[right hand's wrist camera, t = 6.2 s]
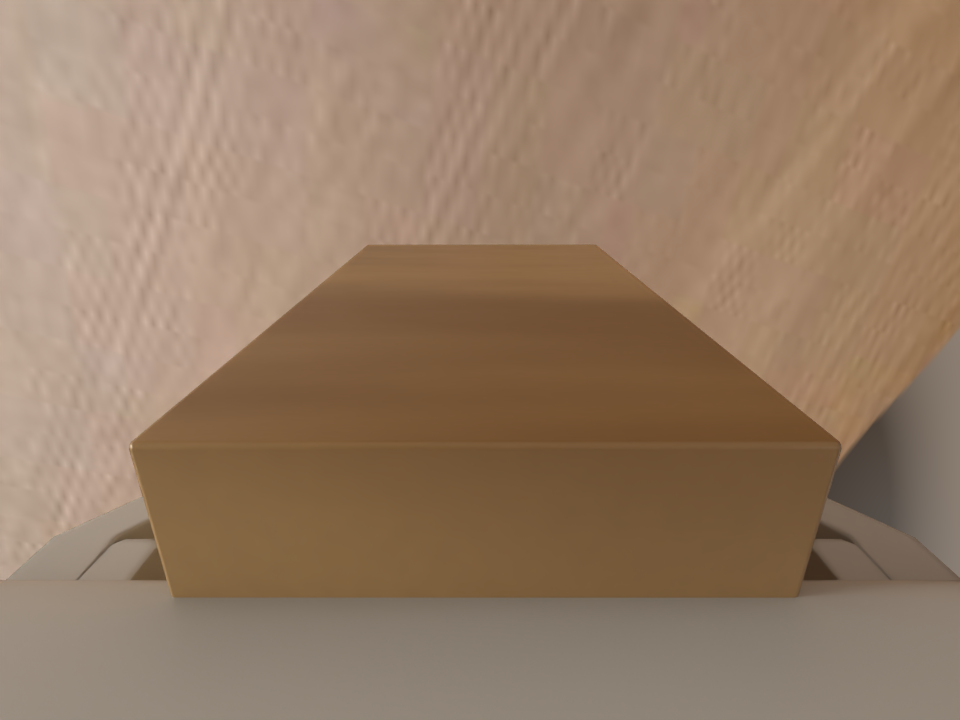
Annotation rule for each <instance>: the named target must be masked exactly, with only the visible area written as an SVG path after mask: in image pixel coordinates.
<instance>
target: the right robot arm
mask: <svg viewBox="0 0 960 720" xmlns="http://www.w3.org/2000/svg"><path fill="white" fill-rule="evenodd" d="M0 720H960V578H959V577H958V576H957V575H956V574H955V573H954V572H953V571H951V570H950V569H949V568H948V567H947V566H946V565H945V564H944V563H943V562H941V561H940V560H939V559H938V558H937V557H936V556H935V555H934V554H932V553H931V552H930V551H929V550H928V549H927V548H926V547H925V546H924V545H922V544H921V543H920V542H919V541H918V540H917V539H916V538H914V537H912V536H910V535H908V534H906V533H903V532H901V531H899V530H897V529H895V528H892V527H890V526H888V525H886V524H883V523H881V522H879V521H877V520H875V519H872V518H870V517H868V516H866V515H863V514H861V513H859V512H857V511H855V510H852V509H850V508H848V507H846V506H844V505H841V504H839V503H837V502H835V501H832V500H830V499H828V498H827V500H826V503H825V507H824V510H823V514H822V517H821V520H820V524H819V527H818V531H817V534H816V537H815V541H814V544H813V548H812V551H811V555H810V558H809V561H808V565H807V568H806V572H805V575H804V578H803V582H802V585H801V589H800V592H799V595H798V597H795V598H175V597H172V596H171V594H170V590H169V587H168V583H167V580H166V576H165V573H164V569H163V566H162V562H161V559H160V555H159V552H158V548H157V545H156V541H155V538H154V534H153V531H152V527H151V524H150V520H149V517H148V513H147V510H146V506H145V503H144V499H143V497H141V498H138V499H136V500H134V501H132V502H130V503H127V504H125V505H123V506H121V507H119V508H116V509H114V510H112V511H110V512H108V513H105V514H103V515H101V516H99V517H97V518H94V519H92V520H90V521H88V522H85V523H83V524H81V525H79V526H77V527H74V528H72V529H70V530H68V531H66V532H63V533H61V534H59V535H57V536H55V537H53V538H52V539H51V540H50V541H49V542H48V543H47V544H45V545H44V546H43V547H42V548H41V549H40V550H39V551H38V552H37V553H36V554H34V555H33V556H32V557H31V558H30V559H29V560H28V561H27V562H26V563H24V564H23V565H22V566H21V567H20V568H19V569H18V570H17V571H16V572H15V573H13V574H12V575H11V576H10V577H9V578H8V579H7V580H0Z"/></svg>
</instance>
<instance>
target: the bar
mask: <svg viewBox="0 0 960 720" xmlns="http://www.w3.org/2000/svg"><path fill="white" fill-rule="evenodd" d="M129 451H130V454H131V457H132V461H133V464H134V468H135V471H136V475H137V478H138V482H139V485H140V489H141V492H142V496H143V499H144V503H145V506H146V510H147V513H148V517H149V520H150V524H151V527H152V531H153V534H154V538H155V541H156V545H157V548H158V552H159V555H160V559H161V562H162V566H163V569H164V573H165V576H166V580H167V583H168V587H169V590H170V594H171V596H172V597H175V598H795V597H798V595H799V592H800V589H801V585H802V582H803V578H804V575H805V572H806V568H807V565H808V561H809V558H810V555H811V551H812V548H813V544H814V541H815V537H816V534H817V531H818V527H819V524H820V520H821V517H822V514H823V510H824V507H825V503H826V500H827V497H828V493H829V490H830V486H831V483H832V479H833V476H834V473H835V469H836V466H837V462H838V459H839V456H840V452H841V444H840V442H839V441H838V440H837V439H835V438H834V437H833V436H832V435H830V434H829V433H828V432H827V431H825V430H824V429H823V428H822V427H821V426H819V425H818V424H817V423H816V422H814V421H813V420H812V419H811V418H809V417H808V416H807V415H806V414H804V413H803V412H802V411H801V410H799V409H798V408H797V407H796V406H795V405H793V404H792V403H791V402H790V401H788V400H787V399H786V398H785V397H783V396H782V395H781V394H780V393H778V392H777V391H776V390H775V389H774V388H772V387H771V386H770V385H769V384H767V383H766V382H765V381H764V380H762V379H761V378H760V377H759V376H757V375H756V374H755V373H754V372H752V371H751V370H750V369H749V368H748V367H746V366H745V365H744V364H743V363H741V362H740V361H739V360H738V359H736V358H735V357H734V356H733V355H731V354H730V353H729V352H728V351H726V350H725V349H724V348H723V347H722V346H720V345H719V344H718V343H717V342H715V341H714V340H713V339H712V338H710V337H709V336H708V335H707V334H705V333H704V332H703V331H702V330H700V329H699V328H698V327H697V326H696V325H694V324H693V323H692V322H691V321H689V320H688V319H687V318H686V317H684V316H683V315H682V314H681V313H679V312H678V311H677V310H676V309H675V308H673V307H672V306H671V305H670V304H668V303H667V302H666V301H665V300H663V299H662V298H661V297H660V296H658V295H657V294H656V293H655V292H653V291H652V290H651V289H650V288H649V287H647V286H646V285H645V284H644V283H642V282H641V281H640V280H639V279H637V278H636V277H635V276H634V275H632V274H631V273H630V272H629V271H627V270H626V269H625V268H624V267H623V266H621V265H620V264H619V263H618V262H616V261H615V260H614V259H613V258H611V257H610V256H609V255H608V254H606V253H605V252H604V251H603V250H601V249H600V248H599V247H598V246H597V245H367V246H366V247H365V248H364V249H362V250H361V251H360V252H359V253H358V254H356V255H355V256H354V257H353V258H352V259H350V260H349V261H348V262H347V263H346V264H344V265H343V266H342V267H341V268H340V269H338V270H337V271H336V272H335V273H334V274H332V275H331V276H330V277H329V278H328V279H326V280H325V281H324V282H323V283H322V284H320V285H319V286H318V287H317V288H316V289H314V290H313V291H312V292H311V293H310V294H308V295H307V296H306V297H305V298H304V299H302V300H301V301H300V302H299V303H298V304H296V305H295V306H294V307H293V308H292V309H290V310H289V311H288V312H287V313H286V314H284V315H283V316H282V317H281V318H280V319H278V320H277V321H276V322H275V323H274V324H272V325H271V326H270V327H269V328H268V329H266V330H265V331H264V332H263V333H262V334H260V335H259V336H258V337H257V338H256V339H254V340H253V341H252V342H251V343H250V344H248V345H247V346H246V347H245V348H244V349H242V350H241V351H240V352H239V353H238V354H236V355H235V356H234V357H233V358H232V359H230V360H229V361H228V362H227V363H226V364H224V365H223V366H222V367H221V368H220V369H218V370H217V371H216V372H215V373H214V374H212V375H211V376H210V377H209V378H208V379H206V380H205V381H204V382H203V383H202V384H200V385H199V386H198V387H197V388H196V389H194V390H193V391H192V392H191V393H189V394H188V395H187V396H186V397H185V398H183V399H182V400H181V401H180V402H179V403H177V404H176V405H175V406H174V407H173V408H171V409H170V410H169V411H168V412H167V413H165V414H164V415H163V416H162V417H161V418H159V419H158V420H157V421H156V422H155V423H153V424H152V425H151V426H150V427H149V428H147V429H146V430H145V431H144V432H143V433H141V434H140V435H139V436H138V437H137V438H135V439H134V440H133V441H132V442H131V443H130V446H129Z"/></svg>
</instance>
